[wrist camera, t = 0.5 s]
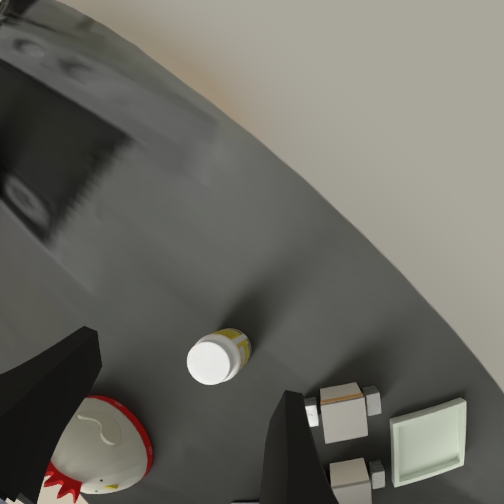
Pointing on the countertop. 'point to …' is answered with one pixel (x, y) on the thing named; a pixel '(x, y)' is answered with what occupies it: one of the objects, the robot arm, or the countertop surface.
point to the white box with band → (343, 412)
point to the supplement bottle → (219, 356)
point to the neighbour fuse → (350, 482)
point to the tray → (428, 442)
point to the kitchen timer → (100, 450)
